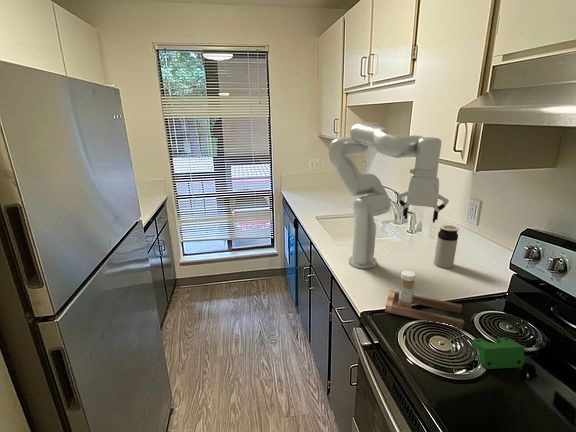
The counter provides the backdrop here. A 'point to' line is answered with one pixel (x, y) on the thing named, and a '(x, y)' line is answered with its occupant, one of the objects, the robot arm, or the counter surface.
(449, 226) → the travel mug
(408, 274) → the sprinkles bottle
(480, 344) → the green toy brick
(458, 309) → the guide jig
